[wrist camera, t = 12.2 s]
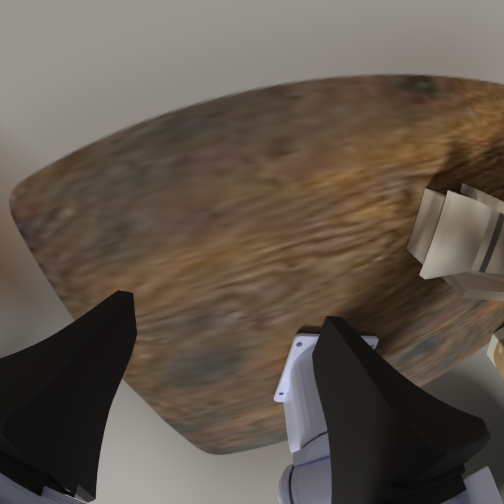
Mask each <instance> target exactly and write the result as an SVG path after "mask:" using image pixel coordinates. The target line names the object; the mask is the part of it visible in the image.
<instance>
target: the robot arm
mask: <svg viewBox="0 0 504 504" xmlns="http://www.w3.org/2000/svg"><path fill="white" fill-rule="evenodd" d="M136 337H137V328H136V319H135V309H134V298H133V293H131V292H125V291H119V290H118V291H116V292H115V293H113V294H112V295H111V296H109V297H108V298H106V299H105V300H104V301H102V302H101V303H100V304H98V305H97V306H96V307H94V308H93V309H91V310H90V311H89V312H87V313H86V314H84V315H83V316H82V317H80V318H79V319H77V320H76V321H74V322H73V323H71V324H70V325H68V326H67V327H65V328H64V329H62V330H60V331H59V332H58V333H55V334H54V335H52V336H50V337H49V338H47V339H45V340H43V341H41V342H39V343H37V344H35V345H33V346H30V347H28V348H26V349H24V350H21V351H19V352H17V353H14V354H12V355H9V356H6V357H3V358H0V504H86V503H83V502H81V501H78V500H76V499H73V498H77V499H79V500H82V501H85V502H91V501H93V500H95V499H96V483H97V472H98V471H97V470H98V463H99V457H100V450H101V445H102V440H103V434H104V430H105V426H106V422H107V418H108V414H109V410H110V407H111V404H112V401H113V398H114V396H115V394H116V391H117V389H118V386H119V384H120V381H121V379H122V377H123V374H124V372H125V370H126V367H127V365H128V362H129V360H130V358H131V355H132V351H133V348H134V344H135V341H136ZM378 341H379V340H378V338H377V337H376V336H360V335H359V334H358V333H357V332H356V331H355V330H354V329H353V328H352V327H351V326H350V325H349V324H348V323H347V322H346V321H345V320H344V319H343V318H342V317H333V316H326V319H325V322H324V324H323V327H322V330H321V332H320V334H310V333H299V334H297V335H295V337H294V340H293V343H292V346H291V349H290V352H289V355H288V358H287V361H286V364H285V367H284V370H283V373H282V376H281V378H280V381H279V384H278V387H277V389H276V392H275V395H274V400H275V401H276V402H284V409H285V418H286V426H287V434H288V442H289V447H290V450H291V452H292V455H293V463H294V464H292V465H289V466H287V467H286V469H285V470H284V472H283V474H282V477H281V478H280V481H279V486H278V497H279V503H280V504H503V503H502V500H501V498H500V495H499V492H498V489H497V487H496V484H495V482H494V479H493V478H492V475H491V472H490V470H489V467H484V468H483V469H481V470H479V471H477V472H476V473H474V474H472V475H470V476H468V477H467V478H465V479H464V480H463V478H462V476H461V474H463V473H464V472H465V468H464V465H463V464H464V463H465V462H467V461H468V460H469V459H470V458H472V457H473V456H474V455H475V454H476V453H477V452H478V451H480V450H481V449H482V448H483V447H484V446H485V445H486V444H487V443H488V442H489V440H490V438H491V434H490V432H489V431H488V429H487V427H486V425H485V423H484V421H483V419H481V418H479V417H476V416H473V415H471V414H468V413H465V412H463V411H460V410H458V409H456V408H454V407H452V406H450V405H448V404H445V403H444V402H442V401H440V400H438V399H437V398H435V397H433V396H432V395H430V394H428V393H426V392H425V391H423V390H422V389H421V388H419V387H418V386H416V385H415V384H413V383H412V382H411V381H409V380H408V379H407V378H405V377H404V376H403V375H402V374H400V373H399V372H398V371H397V370H395V369H394V368H393V367H392V366H391V365H390V364H389V363H388V362H386V361H385V360H384V359H383V358H382V357H381V356H380V355H379V354H378V353H377V352H376V351H375V350H374V349H375V347H376V345H377V343H378ZM298 342H301V343H299V344H297V343H298ZM370 345H371V346H370ZM65 494H66V495H68V496H71V497H73V498H71V497H68V496H66V495H65Z"/></svg>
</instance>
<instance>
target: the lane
mask: <svg viewBox="0 0 504 504" xmlns="http://www.w3.org/2000/svg"><path fill="white" fill-rule="evenodd" d="M460 193H462V194H465V195H467V196H469V197H467V196H464V195H461V194H458V193H455V192H452V191H449V190H448V192H447V196H445V195H443V194H441V193H439V192H436V191H433V190H430V189H427V188H425V191H424V195H423V198H422V202H421V205H420V209H419V212H418V215H417V219H416V222H415V225H414V228H413V231H412V234H411V237H410V240H409V243H408V246H407V250H408V251H409V252H410V253H411V254H412V255H413V256H414V257H415V258H416V259H417V260H418V261H420V262H421V263H422V264H423V267H422V269H421V272H420V274H419V275H420V276H421V277H422V278H424V279H430V278H436V277H442V278H443V279H444V280H445V281H446V282H447V283H448V284H449V285H450V286H451V287H452V288H453V289H454V290H455V291H456V292H457V293H458V295H459V296H460V297H461V298H468V299H485V300H504V202H503V201H501V200H499V199H497V198H495V197H493V196H491V195H488V194H486V193H484V192H482V191H480V190H477V189H475V188H473V187H470V186H468V185H466V184H463V183H462V187H461V191H460ZM470 197H471V198H470Z"/></svg>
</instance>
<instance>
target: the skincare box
mask: <svg viewBox="0 0 504 504" xmlns="http://www.w3.org/2000/svg"><path fill="white" fill-rule="evenodd" d="M487 355H488V356H489V358H490V359H491V361H492V362H493V364H494V365H495V367H496V368H497V370H498V371H499V373H500V374H501V376H502V377H503V379H504V327H502V328H501V329H499V330H498V331H496V332H494V333H493V335H492V338H491V341H490V344H489V347H488V350H487Z"/></svg>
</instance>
